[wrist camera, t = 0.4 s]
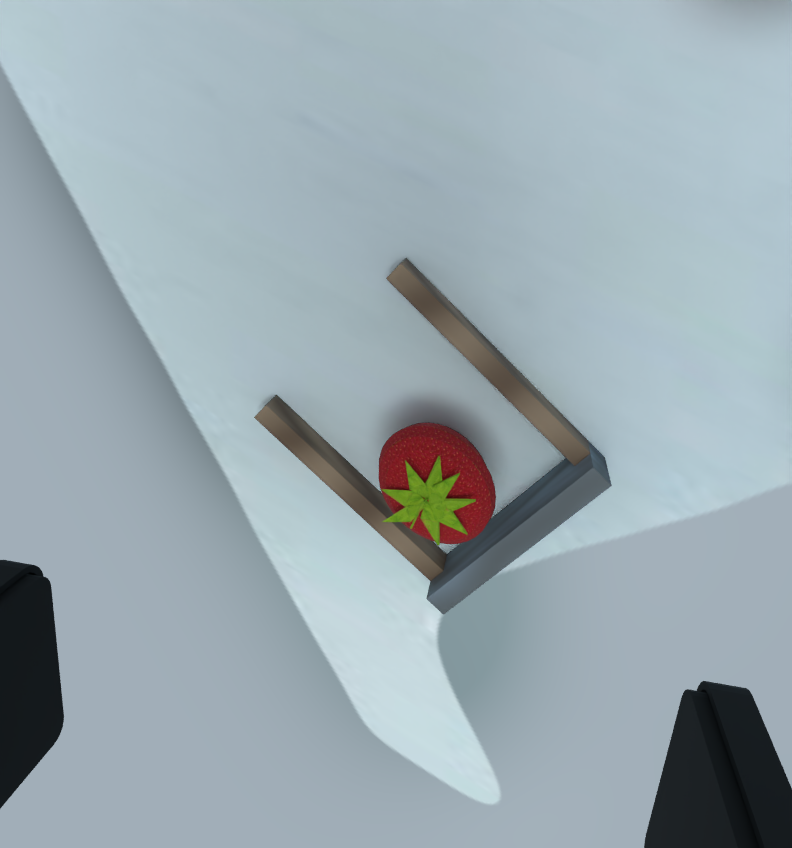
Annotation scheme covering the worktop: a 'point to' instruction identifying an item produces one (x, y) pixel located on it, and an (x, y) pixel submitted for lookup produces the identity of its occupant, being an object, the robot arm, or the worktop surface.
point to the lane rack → (512, 525)
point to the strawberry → (436, 483)
